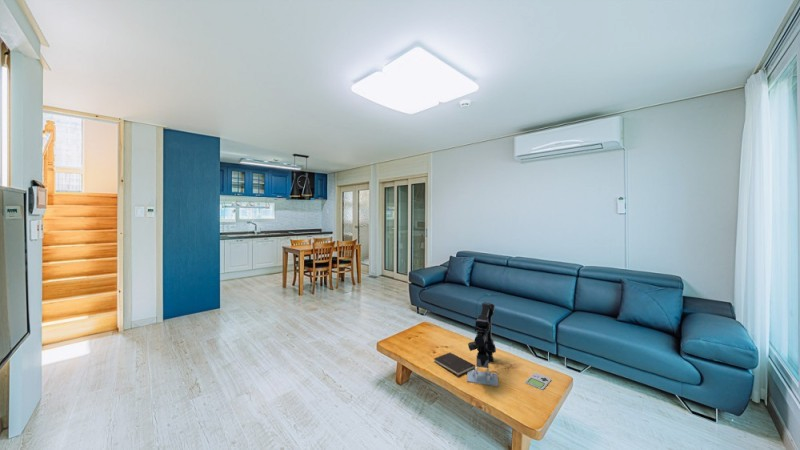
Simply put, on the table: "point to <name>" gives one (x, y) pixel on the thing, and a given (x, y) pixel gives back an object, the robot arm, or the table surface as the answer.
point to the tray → (482, 377)
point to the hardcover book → (454, 364)
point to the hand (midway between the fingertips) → (482, 363)
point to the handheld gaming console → (538, 381)
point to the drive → (484, 364)
